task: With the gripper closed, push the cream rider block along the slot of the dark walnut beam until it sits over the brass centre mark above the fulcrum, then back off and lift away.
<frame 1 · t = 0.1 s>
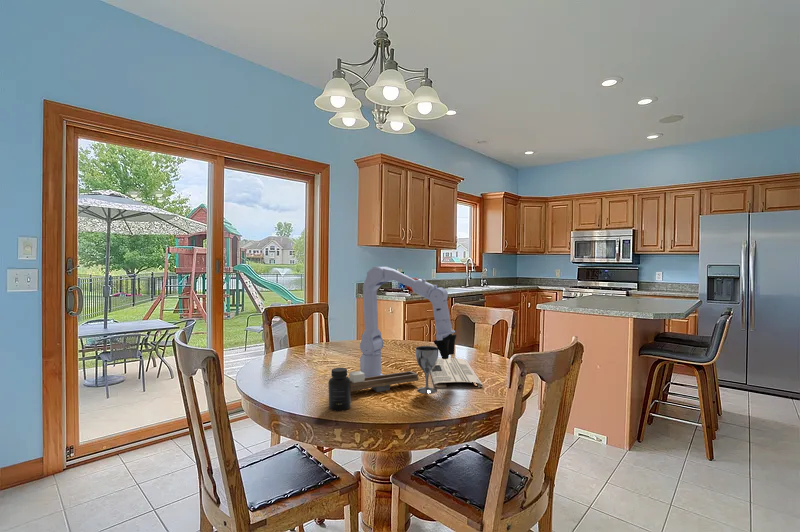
hand: (448, 356, 149), 11 cm above the table, tool pointing down, fingers open, 7 cm apart
beam: (380, 389, 144), on the table
rider: (356, 378, 140), point 5 cm above the table, slide at -9.0 cm
newspaper: (454, 375, 164), on the table
supplement bottle: (339, 408, 126), on the table
wine glass: (427, 391, 143), on the table
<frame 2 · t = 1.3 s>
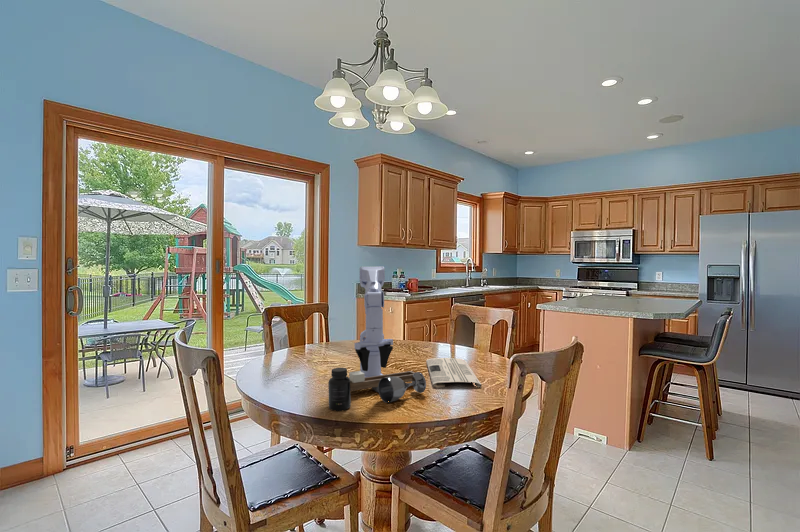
hand: (374, 369, 133), 10 cm above the table, tool pointing down, fingers open, 7 cm apart
wine glass: (419, 382, 140), point 4 cm above the table
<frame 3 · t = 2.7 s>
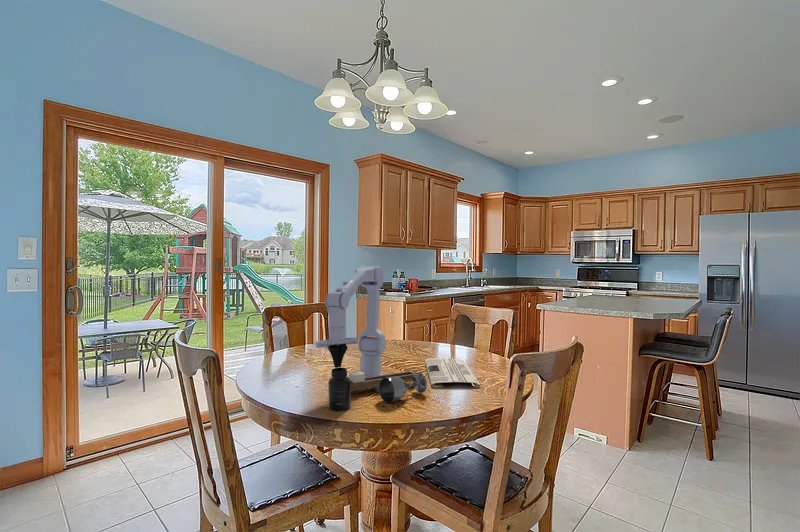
hand: (337, 366, 137), 10 cm above the table, tool pointing down, fingers closed
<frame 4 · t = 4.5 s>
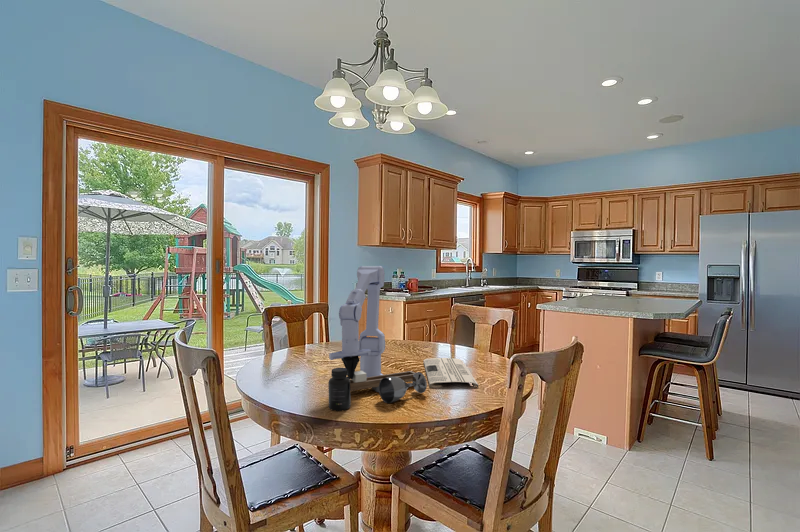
hand: (350, 378, 139), 5 cm above the table, tool pointing down, fingers closed
rider: (358, 378, 140), point 5 cm above the table, slide at -8.3 cm, touching gripper
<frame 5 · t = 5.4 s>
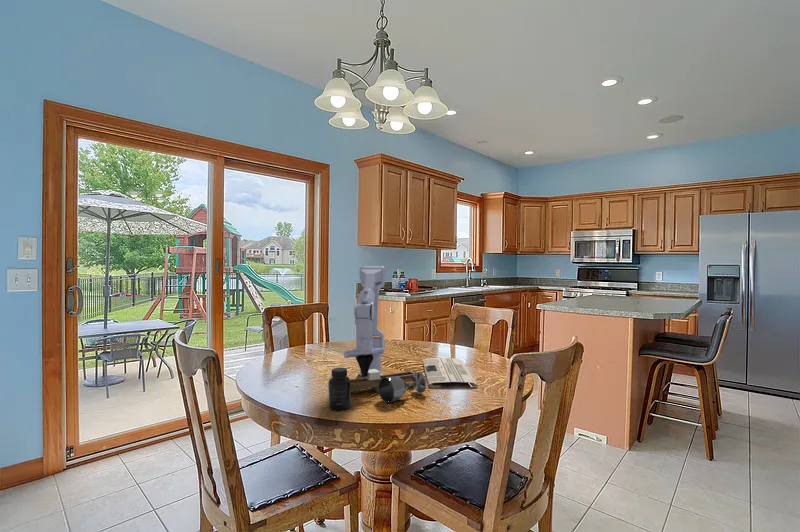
hand: (364, 376, 141), 5 cm above the table, tool pointing down, fingers closed
rider: (372, 376, 143), point 5 cm above the table, slide at -3.1 cm, touching gripper
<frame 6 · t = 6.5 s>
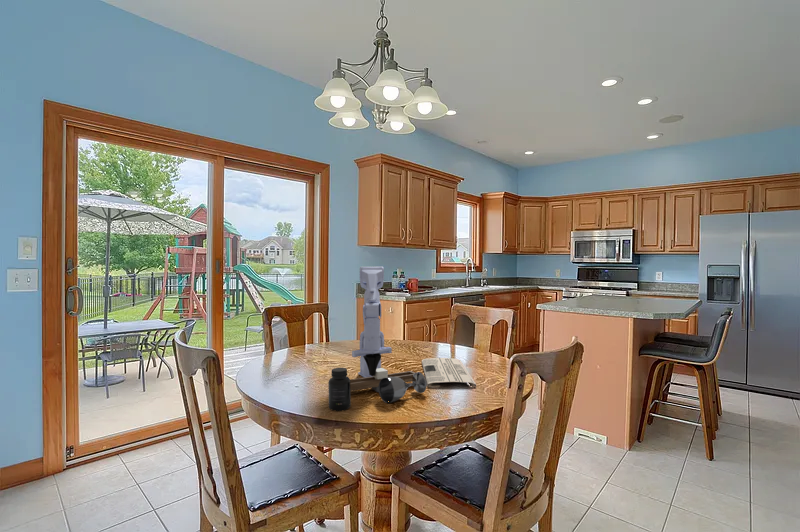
hand: (372, 375, 143), 5 cm above the table, tool pointing down, fingers closed
rider: (380, 375, 144), point 5 cm above the table, slide at -0.1 cm, touching gripper
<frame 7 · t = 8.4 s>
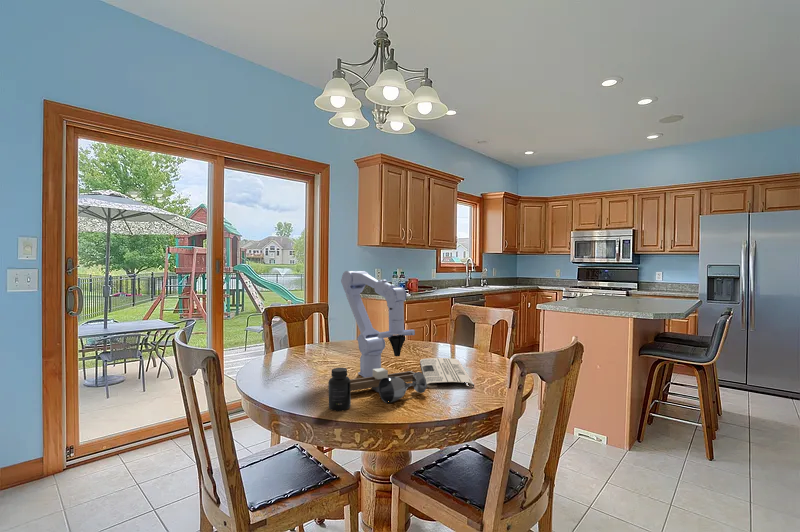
hand: (397, 355, 151), 10 cm above the table, tool pointing down, fingers closed
rider: (380, 375, 144), point 5 cm above the table, slide at -0.1 cm
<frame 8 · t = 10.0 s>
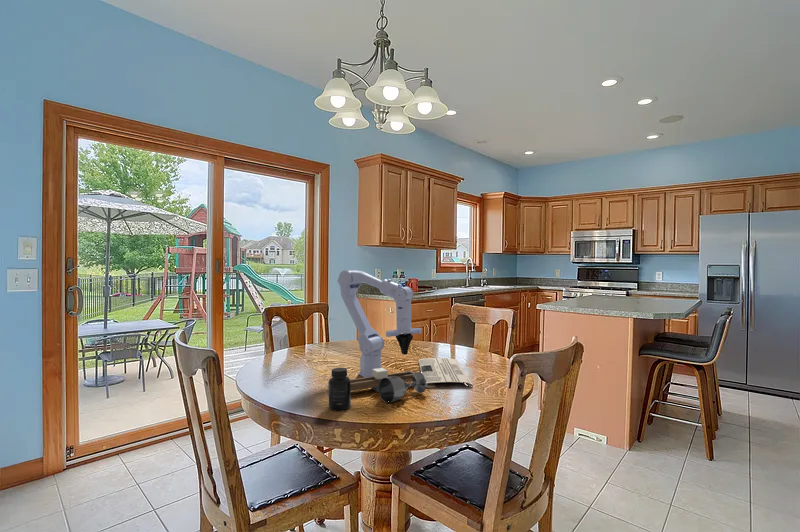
hand: (404, 353, 154), 10 cm above the table, tool pointing down, fingers closed
at the end: rider slide at -0.1 cm; rider 0.1 cm from the target spot, resting on beam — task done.
